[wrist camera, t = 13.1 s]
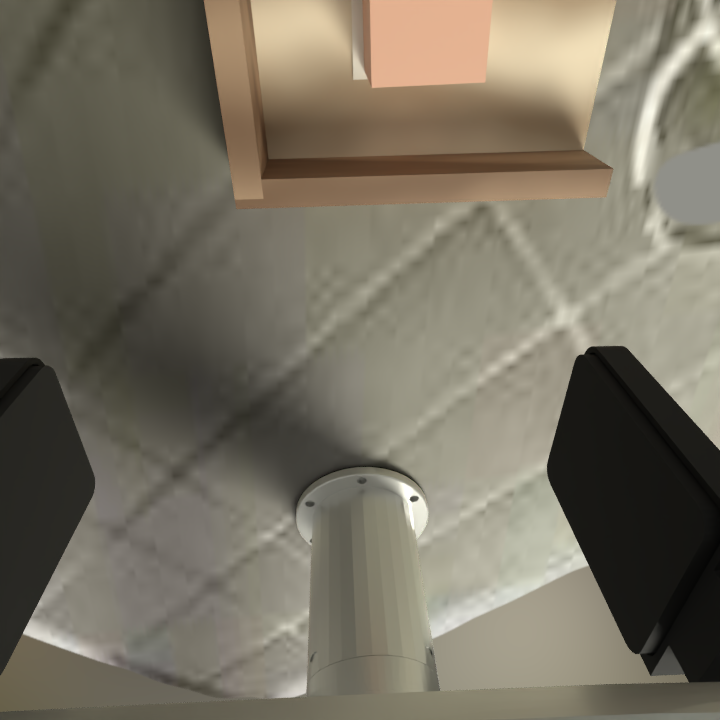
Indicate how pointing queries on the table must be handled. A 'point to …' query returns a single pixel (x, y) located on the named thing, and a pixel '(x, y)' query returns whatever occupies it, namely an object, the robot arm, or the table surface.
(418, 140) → the corner arena
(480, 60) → the terracotta block
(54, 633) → the table surface
